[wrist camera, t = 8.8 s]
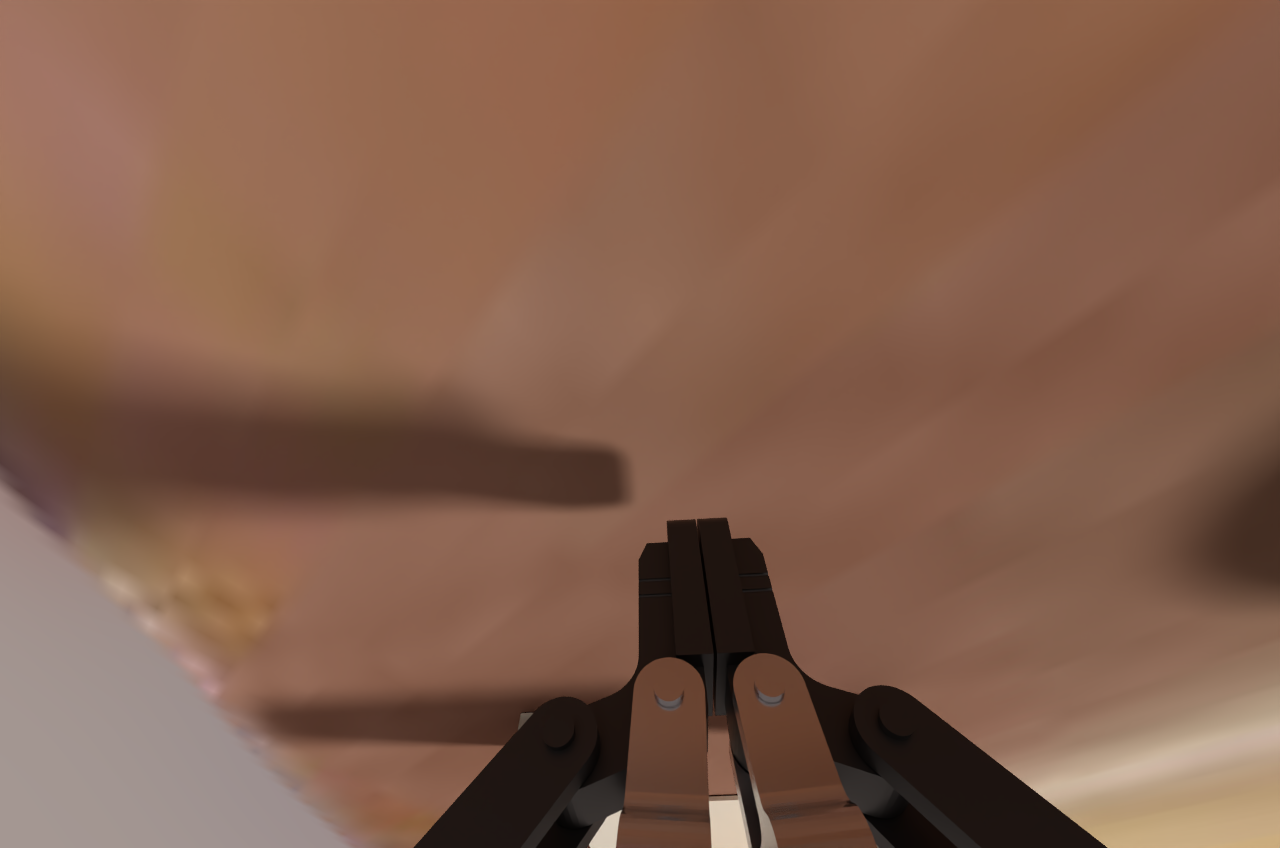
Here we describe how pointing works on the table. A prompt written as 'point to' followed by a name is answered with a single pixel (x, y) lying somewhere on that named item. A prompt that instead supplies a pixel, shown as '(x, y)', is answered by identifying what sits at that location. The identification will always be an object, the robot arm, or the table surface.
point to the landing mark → (723, 820)
